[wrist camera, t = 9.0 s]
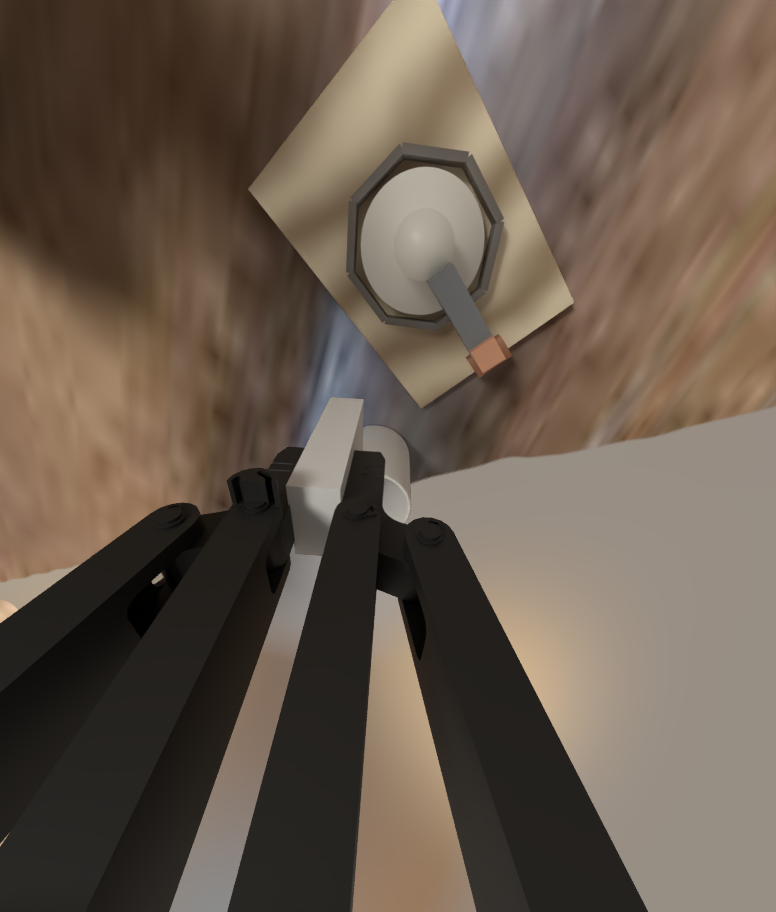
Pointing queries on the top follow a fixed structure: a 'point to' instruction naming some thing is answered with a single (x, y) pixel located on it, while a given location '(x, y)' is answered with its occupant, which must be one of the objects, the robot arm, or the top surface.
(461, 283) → the dial
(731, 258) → the top surface
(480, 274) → the board
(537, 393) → the top surface
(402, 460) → the mug
